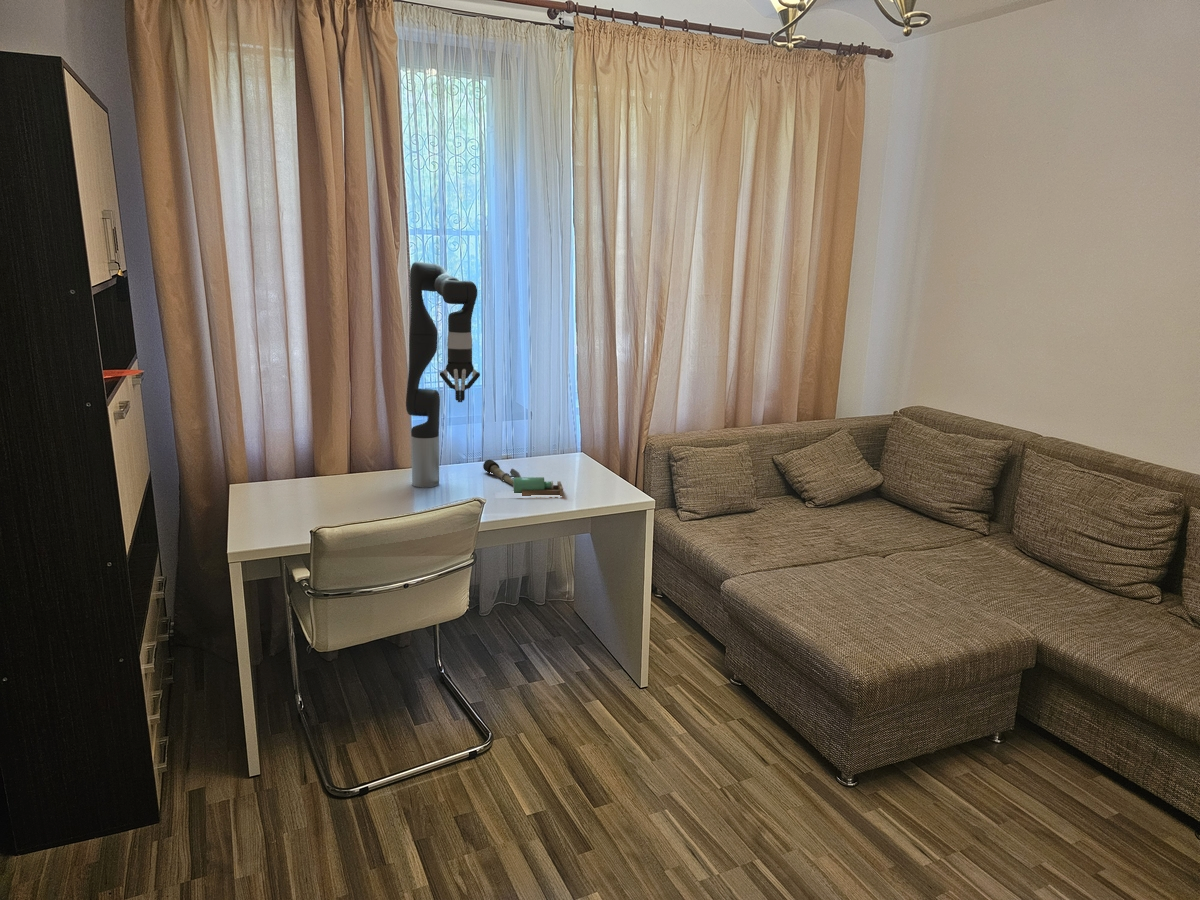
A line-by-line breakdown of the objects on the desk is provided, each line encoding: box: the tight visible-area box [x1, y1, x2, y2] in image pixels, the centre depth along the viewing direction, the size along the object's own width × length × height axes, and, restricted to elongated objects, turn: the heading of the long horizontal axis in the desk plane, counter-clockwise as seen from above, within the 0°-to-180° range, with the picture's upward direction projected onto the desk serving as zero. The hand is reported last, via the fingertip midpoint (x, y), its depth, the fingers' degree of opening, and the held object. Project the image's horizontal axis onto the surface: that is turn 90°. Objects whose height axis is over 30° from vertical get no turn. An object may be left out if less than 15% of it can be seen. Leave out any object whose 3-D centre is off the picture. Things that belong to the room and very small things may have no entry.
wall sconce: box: [482, 459, 522, 486], centre depth 289 cm, size 5×6×30 cm
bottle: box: [512, 476, 554, 493], centre depth 273 cm, size 5×5×13 cm
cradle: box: [522, 481, 564, 497], centre depth 273 cm, size 9×22×4 cm, turn 99°
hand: (459, 401), depth 257 cm, fingers closed
